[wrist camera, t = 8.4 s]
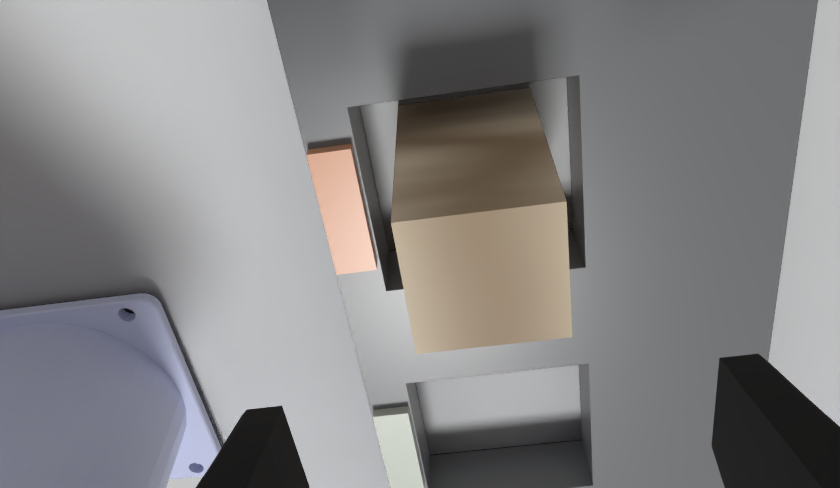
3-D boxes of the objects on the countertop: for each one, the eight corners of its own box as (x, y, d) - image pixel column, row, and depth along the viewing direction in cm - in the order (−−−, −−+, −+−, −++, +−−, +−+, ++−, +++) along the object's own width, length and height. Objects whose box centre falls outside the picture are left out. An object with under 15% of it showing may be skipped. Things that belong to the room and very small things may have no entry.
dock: (405, 499, 29) (404, 552, 27) (275, -45, 18) (258, -21, 16) (727, 467, 28) (750, 520, 26) (792, -126, 17) (840, -111, 15)
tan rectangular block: (416, 216, 22) (416, 354, 17) (398, 105, 20) (391, 223, 15) (537, 202, 22) (572, 337, 17) (529, 87, 20) (566, 201, 15)
